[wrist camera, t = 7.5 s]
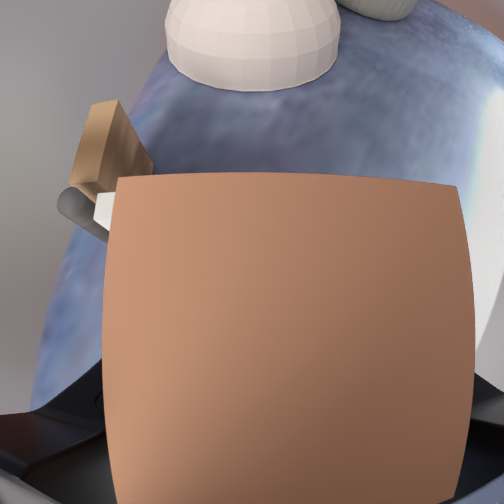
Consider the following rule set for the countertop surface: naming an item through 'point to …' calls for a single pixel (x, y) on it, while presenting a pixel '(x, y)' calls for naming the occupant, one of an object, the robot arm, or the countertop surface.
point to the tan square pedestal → (286, 339)
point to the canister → (380, 8)
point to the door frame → (102, 164)
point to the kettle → (253, 41)
